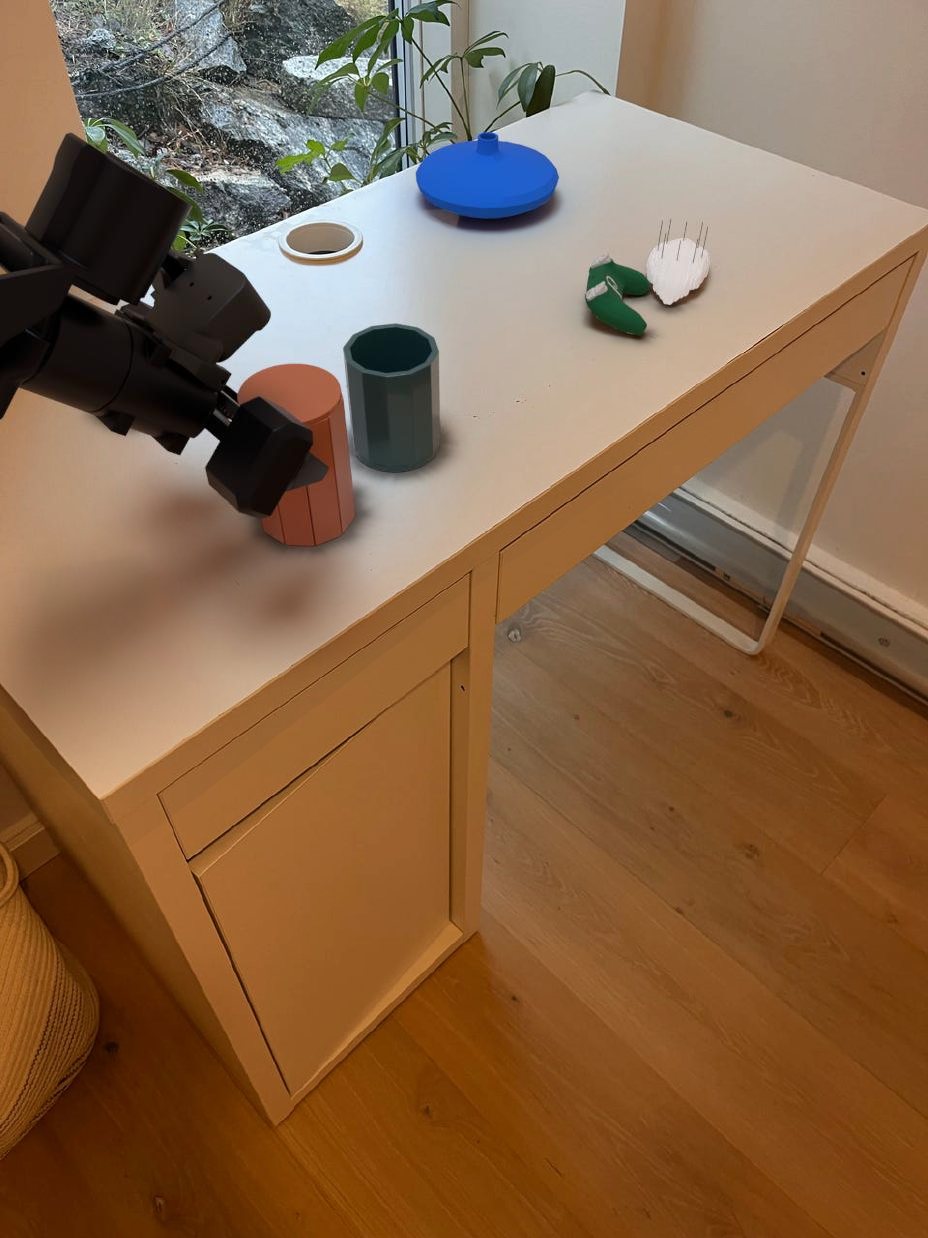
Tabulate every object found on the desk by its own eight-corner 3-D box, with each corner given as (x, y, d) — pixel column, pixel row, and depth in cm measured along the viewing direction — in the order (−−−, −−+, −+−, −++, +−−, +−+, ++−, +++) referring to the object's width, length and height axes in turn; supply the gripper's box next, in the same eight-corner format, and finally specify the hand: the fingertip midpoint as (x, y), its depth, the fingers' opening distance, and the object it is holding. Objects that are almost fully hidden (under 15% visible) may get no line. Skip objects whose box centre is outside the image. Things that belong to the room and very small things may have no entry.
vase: (582, 193, 110) (588, 128, 105) (509, 249, 102) (512, 181, 96) (466, 159, 116) (466, 96, 111) (387, 210, 107) (384, 144, 102)
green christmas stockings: (622, 303, 98) (584, 261, 95) (653, 281, 96) (614, 236, 93) (617, 354, 92) (576, 310, 89) (650, 331, 90) (608, 285, 87)
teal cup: (359, 477, 77) (350, 380, 70) (348, 424, 82) (338, 329, 75) (446, 466, 78) (445, 369, 71) (430, 414, 83) (428, 319, 76)
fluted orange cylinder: (243, 532, 73) (216, 411, 64) (289, 474, 77) (269, 353, 69) (327, 556, 71) (310, 435, 63) (369, 495, 76) (359, 374, 67)
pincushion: (655, 245, 102) (664, 191, 98) (714, 253, 101) (725, 200, 97) (635, 302, 95) (643, 246, 91) (698, 312, 94) (709, 256, 89)
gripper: (262, 302, 49) (432, 401, 62) (86, 178, 58) (267, 287, 71) (157, 490, 51) (343, 547, 64) (4, 341, 60) (194, 418, 73)
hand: (285, 441), depth 68 cm, fingers open, 9 cm apart
